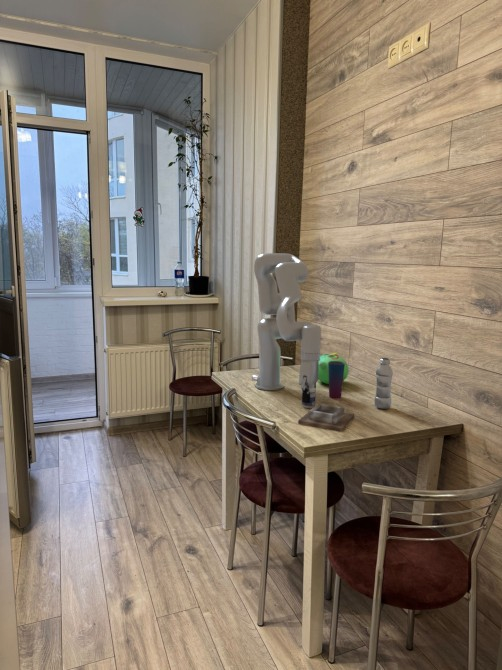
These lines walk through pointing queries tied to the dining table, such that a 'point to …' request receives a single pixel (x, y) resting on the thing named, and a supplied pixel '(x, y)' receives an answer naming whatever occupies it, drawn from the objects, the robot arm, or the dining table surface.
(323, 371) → the green round vessel
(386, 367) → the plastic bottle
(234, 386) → the dining table surface
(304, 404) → the pill bottle
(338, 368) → the cup
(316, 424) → the square frame tray
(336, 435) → the dining table surface
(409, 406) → the dining table surface
